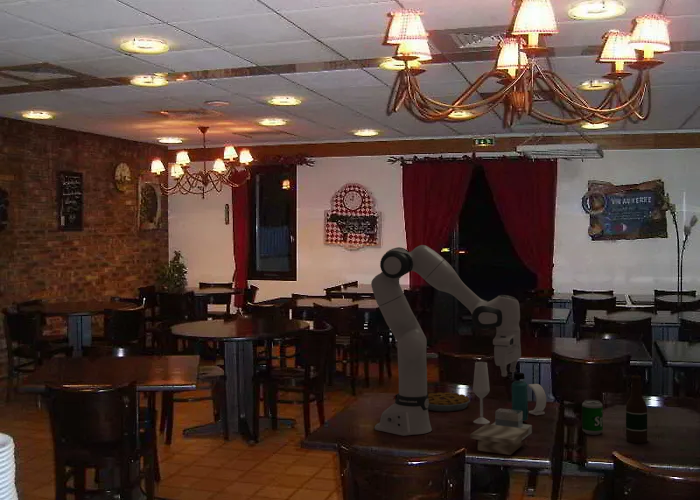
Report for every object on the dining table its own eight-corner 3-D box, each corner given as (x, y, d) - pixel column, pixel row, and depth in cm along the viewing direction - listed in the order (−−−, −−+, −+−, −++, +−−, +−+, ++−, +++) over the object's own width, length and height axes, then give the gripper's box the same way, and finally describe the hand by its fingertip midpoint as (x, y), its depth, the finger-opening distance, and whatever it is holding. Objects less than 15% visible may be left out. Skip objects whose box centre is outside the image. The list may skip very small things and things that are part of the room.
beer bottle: (629, 436, 295) (629, 372, 294) (650, 440, 290) (650, 375, 289) (622, 441, 289) (621, 376, 288) (643, 444, 284) (643, 378, 283)
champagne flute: (470, 422, 318) (470, 363, 317) (476, 419, 324) (475, 361, 323) (487, 424, 315) (486, 364, 314) (492, 420, 321) (491, 362, 320)
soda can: (589, 436, 296) (589, 404, 296) (578, 431, 303) (578, 400, 303) (606, 434, 298) (606, 402, 298) (595, 429, 305) (595, 398, 305)
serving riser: (470, 451, 279) (470, 434, 279) (486, 439, 293) (486, 423, 293) (514, 457, 271) (513, 439, 271) (528, 445, 285) (528, 429, 285)
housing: (495, 426, 300) (495, 411, 300) (499, 423, 305) (499, 408, 304) (518, 429, 296) (518, 413, 295) (522, 426, 300) (522, 410, 300)
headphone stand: (537, 411, 335) (537, 383, 335) (546, 414, 330) (546, 386, 329) (528, 412, 333) (528, 384, 333) (537, 416, 328) (537, 387, 327)
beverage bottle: (528, 424, 314) (528, 374, 313) (511, 424, 315) (511, 374, 314) (528, 420, 320) (527, 371, 319) (511, 420, 322) (511, 371, 321)
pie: (410, 404, 352) (410, 393, 352) (452, 399, 362) (452, 388, 362) (436, 415, 333) (436, 403, 332) (479, 409, 342) (479, 397, 342)
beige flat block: (486, 435, 299) (485, 428, 298) (496, 428, 309) (496, 420, 309) (522, 440, 292) (521, 432, 291) (531, 432, 302) (531, 425, 302)
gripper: (509, 333, 309) (509, 368, 310) (491, 341, 292) (491, 378, 292) (524, 334, 306) (525, 370, 307) (507, 342, 289) (507, 379, 289)
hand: (508, 374), depth 299 cm, fingers open, 8 cm apart
